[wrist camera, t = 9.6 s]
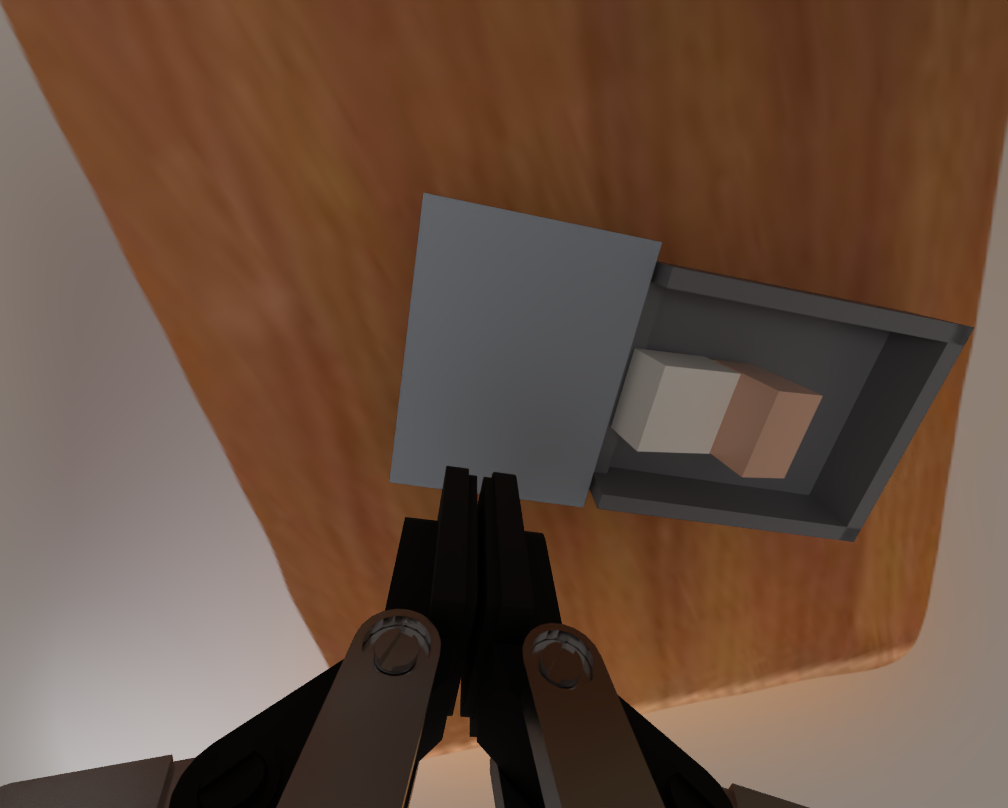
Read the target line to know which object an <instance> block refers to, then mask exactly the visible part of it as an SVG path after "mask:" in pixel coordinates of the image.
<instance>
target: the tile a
mask: <svg viewBox="0 0 1008 808" xmlns="http://www.w3.org/2000/svg"><path fill="white" fill-rule="evenodd" d="M739 377H740V373H738V372H736V371H734V370H732V369H730V368H728V367H725V366H723V365H721V364H719V363H717V362H715V361H713V360H711V359H709V358H707V357H704V356H696V355H687V354H679V353H671V352H662V351H654V350H646V349H637V348H635V349H634V352H633V355H632V359H631V362H630V365H629V369H628V372H627V375H626V379H625V382H624V385H623V388H622V392H621V395H620V398H619V402H618V405H617V408H616V412H615V415H614V418H613V422H612V425H611V428H612V429H613V430H614V431H616V432H617V433H618V434H619V435H620V436H621V437H622V438H623V439H624V440H625V441H626V442H627V443H629V444H630V445H631V446H632V447H633V448H634V449H635V450H636V451H640V452H670V453H701V454H709V453H710V450H711V448H712V445H713V443H714V440H715V438H716V435H717V433H718V430H719V428H720V425H721V423H722V420H723V417H724V415H725V412H726V410H727V407H728V405H729V402H730V400H731V397H732V395H733V392H734V390H735V387H736V385H737V382H738V379H739Z"/></svg>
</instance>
